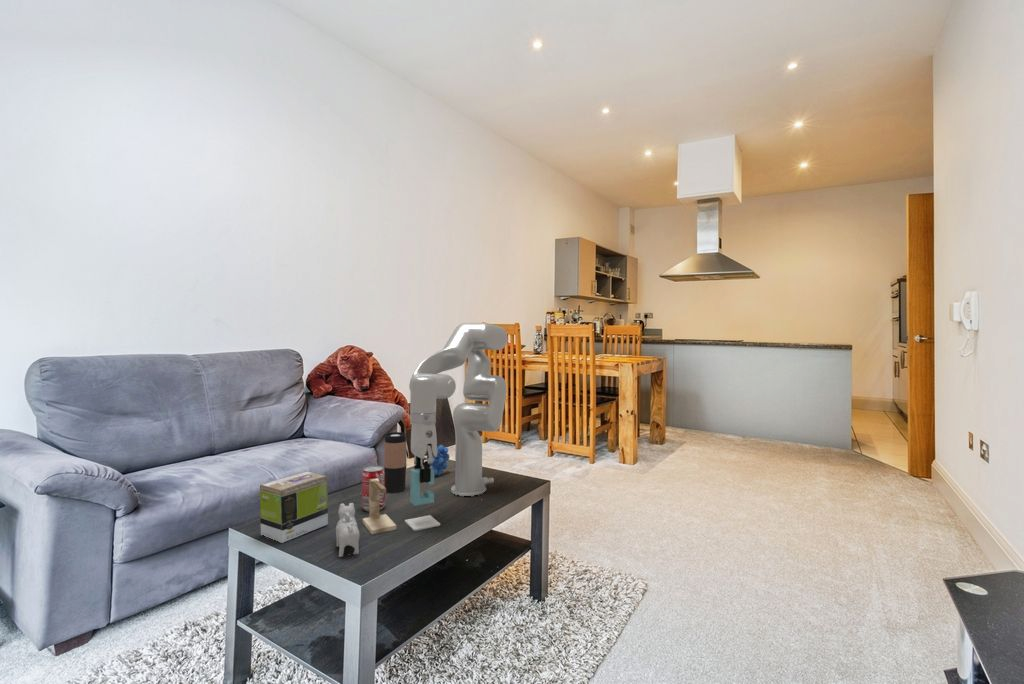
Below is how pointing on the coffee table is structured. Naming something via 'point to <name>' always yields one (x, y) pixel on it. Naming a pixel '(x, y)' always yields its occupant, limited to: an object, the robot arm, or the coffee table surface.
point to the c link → (415, 488)
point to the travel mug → (395, 461)
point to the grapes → (440, 460)
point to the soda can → (367, 474)
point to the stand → (377, 510)
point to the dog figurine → (347, 529)
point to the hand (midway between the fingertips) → (422, 479)
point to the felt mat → (422, 522)
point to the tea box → (293, 506)
